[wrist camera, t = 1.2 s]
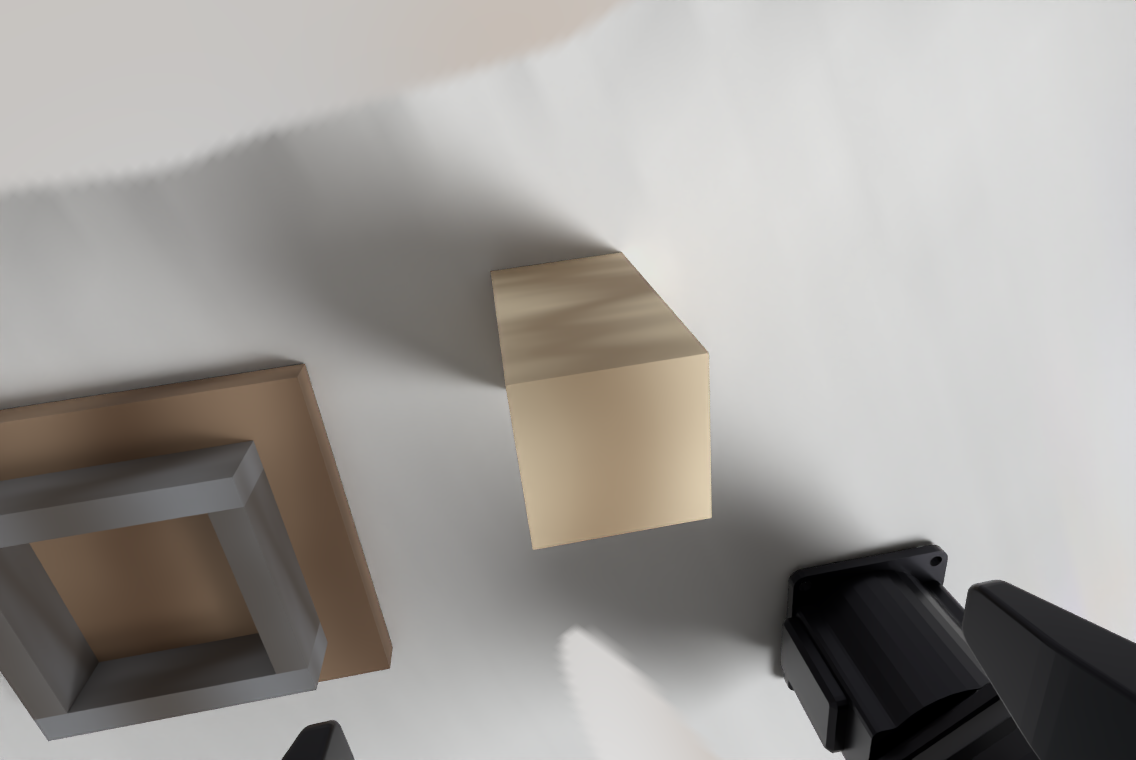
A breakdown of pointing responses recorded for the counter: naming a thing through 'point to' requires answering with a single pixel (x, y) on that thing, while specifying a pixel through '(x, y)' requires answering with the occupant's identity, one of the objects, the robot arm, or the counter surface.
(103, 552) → the socket holder
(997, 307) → the counter surface
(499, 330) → the maple peg
